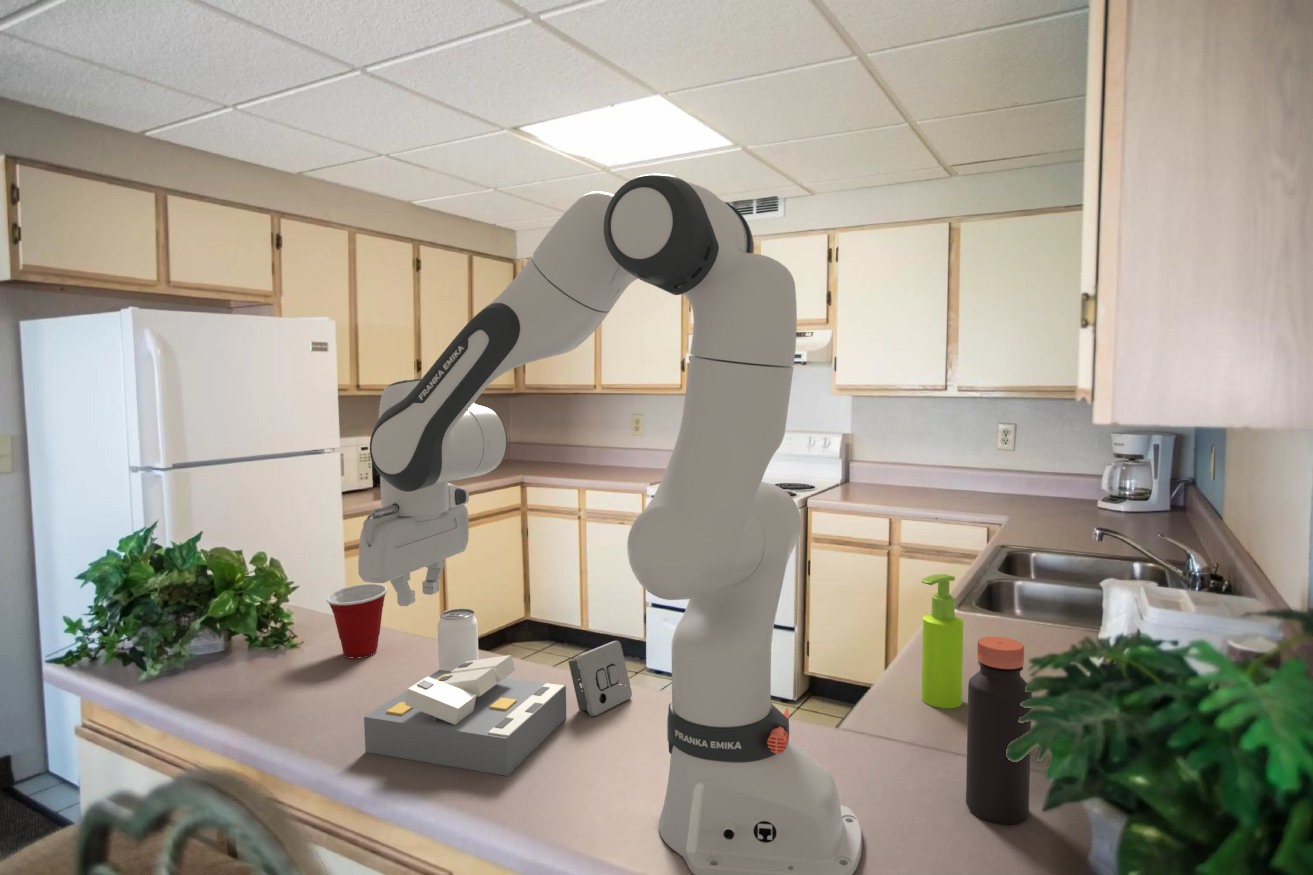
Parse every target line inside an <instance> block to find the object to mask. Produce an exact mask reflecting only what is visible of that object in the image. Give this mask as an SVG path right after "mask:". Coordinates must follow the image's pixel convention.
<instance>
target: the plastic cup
mask: <svg viewBox="0 0 1313 875" xmlns="http://www.w3.org/2000/svg"><path fill="white" fill-rule="evenodd" d="M387 593H388V587H387V586H386V585H384V584H382V583H362V584H356V585H350V586H347V587H342V588H340V589H336V590H334V591H331V593H328V595H326V598H325V601H326V603H328V604H329V606H330V609H331V611H332V614H333V617H334V621H335V626H336V629H337V633H338V637H339V640H340V643H341V648H342V653H343V655H345V656H346V657H345V656H344V657H345V658H347V657H353V658H352V659H359V658H358V657H364V658H366V657H365V656H368V657H370V656H369V655H371V654H373V653H375V652H376V653H377V650H378V647H379V645H378V644H379V639H380V638H379V637H380V635H381V634H380V633H381V626H382V625H381V624H382V615H383V607H384V602H385V597H386V594H387ZM376 653H375V654H376ZM373 655H374V654H373ZM371 656H372V655H371Z"/></svg>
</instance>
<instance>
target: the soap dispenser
mask: <svg viewBox="0 0 1313 875" xmlns="http://www.w3.org/2000/svg"><path fill="white" fill-rule="evenodd" d="M955 579H956V577H955V576H953V575H949V574H946V573H942V574H940V573H939V574H932V575H929V576H926V577H923V578H922V579H921V580H920V582H921V584H925V585H927V586H928V585H929V586H933V585H935V584H937V593H935V594H933V595H932V596H931V613H929V614H928V613H927V614H924V615H923V617H922V654H921V656H922V658H921V659H922V660H921V665H922V666H921V668H922V669H921V700H922V701H923V703H925V704H926V705H929V706H930V707H934V708H939V709H946V710H947V709H948V710H949V709H956V708H959V707H960V706H962V702H963V701H962V700H963V698H962V697H963V656H964V655H963V654H964V653H963V652H964V651H963V648H964V619H962V618H961V617H959V616H957V615H956V614H955V612H956V609H955V608H956V599H955V598H956V597H955V596H952V594H950V582H954V581H956V580H955Z"/></svg>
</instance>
